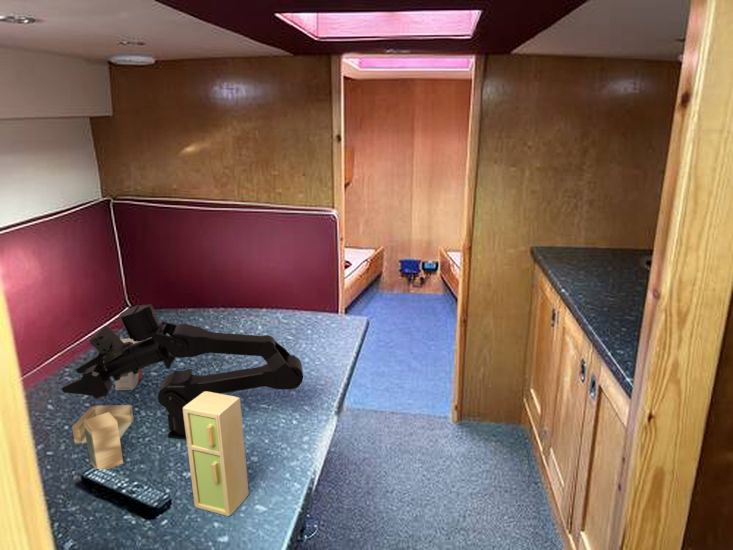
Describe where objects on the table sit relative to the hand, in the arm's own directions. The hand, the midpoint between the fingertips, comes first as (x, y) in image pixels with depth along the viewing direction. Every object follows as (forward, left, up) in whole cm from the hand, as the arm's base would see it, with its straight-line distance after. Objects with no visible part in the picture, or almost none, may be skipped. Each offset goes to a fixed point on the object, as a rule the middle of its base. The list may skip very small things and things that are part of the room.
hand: (70, 380), depth 121 cm
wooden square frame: (-3, -5, -15) cm, 16 cm away
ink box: (+5, -28, -15) cm, 32 cm away
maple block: (-11, +6, -15) cm, 20 cm away
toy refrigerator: (-40, +14, -15) cm, 45 cm away
